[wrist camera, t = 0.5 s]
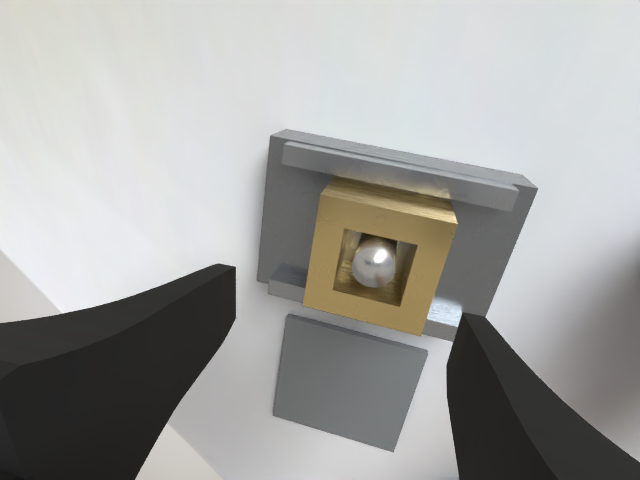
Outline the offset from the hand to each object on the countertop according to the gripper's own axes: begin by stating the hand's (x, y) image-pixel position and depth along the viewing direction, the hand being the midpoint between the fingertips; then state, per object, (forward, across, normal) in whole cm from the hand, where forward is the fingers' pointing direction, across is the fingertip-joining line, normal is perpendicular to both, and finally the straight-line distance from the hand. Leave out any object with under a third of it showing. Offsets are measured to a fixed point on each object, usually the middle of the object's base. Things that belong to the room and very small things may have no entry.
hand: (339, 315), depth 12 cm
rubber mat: (+10, 0, +12) cm, 16 cm away
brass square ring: (+7, -1, 0) cm, 7 cm away
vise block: (+10, -1, 0) cm, 10 cm away
